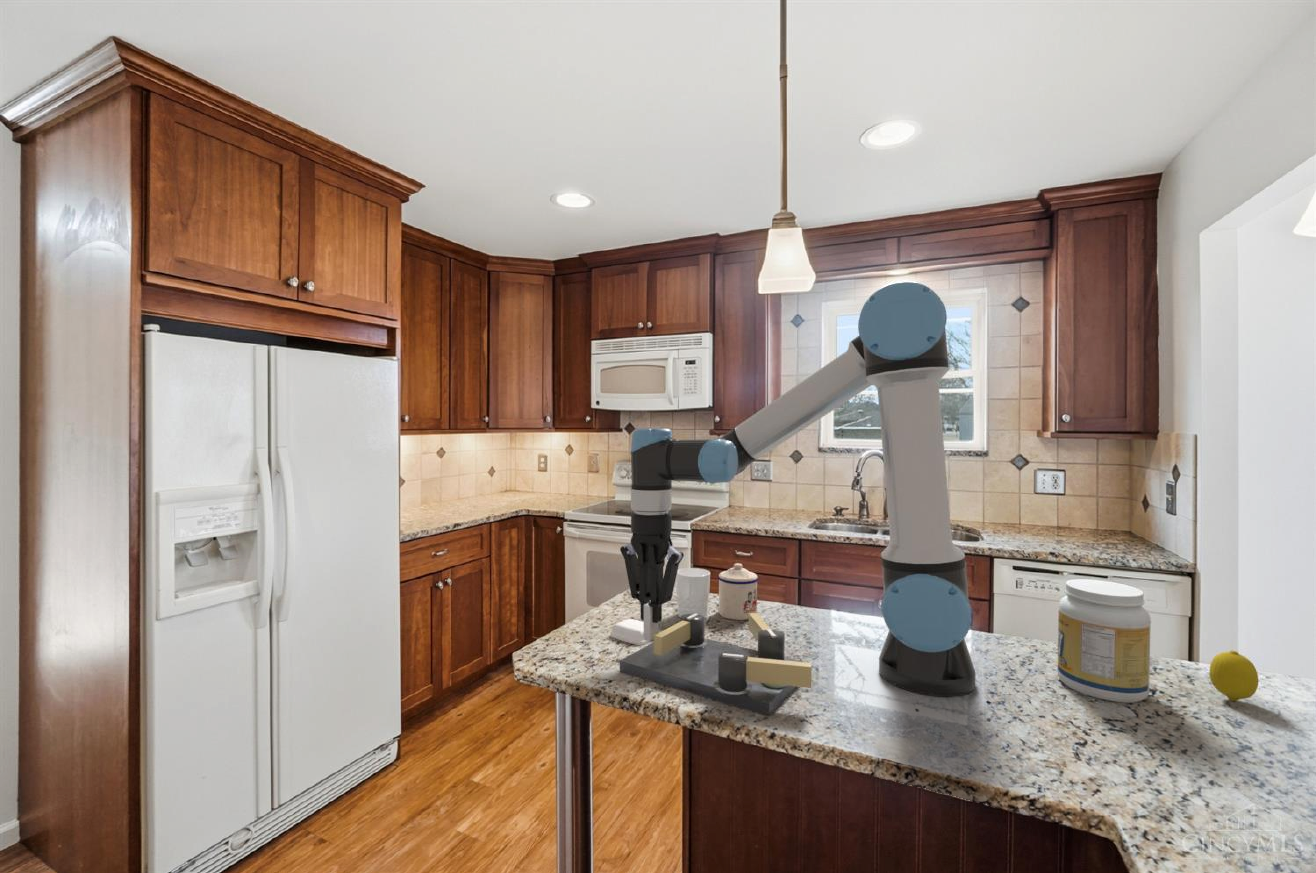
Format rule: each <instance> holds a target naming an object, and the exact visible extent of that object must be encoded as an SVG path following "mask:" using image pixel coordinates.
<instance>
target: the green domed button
mask: <svg viewBox="0 0 1316 873" xmlns="http://www.w3.org/2000/svg"><path fill="white" fill-rule="evenodd" d="M763 684H764V685H765V686H768V687H771V688H783V687H786V686H787V685H778V684H768V683H763Z"/></svg>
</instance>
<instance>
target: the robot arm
mask: <svg viewBox="0 0 1316 873" xmlns="http://www.w3.org/2000/svg"><path fill="white" fill-rule="evenodd" d="M946 310H947V309H946V306H945V303H944V302H943V301H942V300H941V297H940V296H939V295H938V294H937V293H936V292H935V291H934V290H933V289H931V288H930V287H929V286H927V285H925V284H922V283H919V282H917V281H910V280H909V281H908V280H903V281H896V282H891V283H888V284H886V285H884V286H883V287H880V288H879V289H877V290H876V291H874V292H873V293H872V294H871V295H870V296H869V298H868V299H867V300H866V301H865V303H864V304H863V306H862V308H861V310H860V314H859V317H858V322H857V324H858V328H857V329H858V336H856V337H854V338H853V339H852V340H850V341H849V342H848V343H849V344H848V348H847V350H846V351H844V352H843V353H842V354H840V355H839V356H837V357H836V358H834V359H833V360H831V361H830V362H829V363H826V364H825V365H824V366H823V367H822V368H819V370H816V371H815V372H814V373H813V374H811V375H809V376H808V377H807V378H805V379H804V380H803V381H801V382H800V383H798V384H797V385H795V386H794V387H792V388H790V389H789V390H788V391H786V392H785V393H783V394H782V395H781V396H779V397H778V398H776V399H775V400H773V401H772V402H770V403H769V404H767V405H766V406H765V407H763V408H761V409H760V410H757V411H758V412H755V413H754V414H752V415H751V416H750V417H749V418H747V419H746V420H744V421H742V422H741V423H739V424H738V425H736V426H735V427H734V428H732V429H731V430H729V431H728V432H727V433H725V434H723V435H722V436H721V437H719V438H711V439H709V438H707V439H676V438H674V436H673V433H672V430H671V429H669V428H636V429H635V430H633V432H632V434H631V445H630V446H631V448H630V452H629V453H630V460H631V462H630V466H631V474H630V475H631V484H630V486H631V487H630V488H631V489H630V510H632V511H633V512H632V513H631V514H630V531H631V533H632V536H631V538H630V542H629V543H628V544H626V545H623V546H621V547H620V548H619V551H620V553H621V554H622V556H623V559H624V563H625V570H626V575H627V581H628V585H629V590H630V596H631V598H632V599H635V600H637V601H639V603H640V604H639V605H640V619H641V620H640V621H643V622H644V640H646V641H650V642H652V641H654V635H656V634H658V633H659V623H661V621H662V618H663V611H662V610H663V609H662V608H663V605H664V604H666V603H669V602H670V601H671V600H672V598H673V593H674V589H675V586H676V575H677V571H678V570H679V566H680V563H681V562H682V560H683V558H684V557H685V556H684V555H685V554H684V552H683V551H678V550H677V549H675V547H673V541H672V539H671V534H672V526H673V525H672V523H673V519H672V518H673V514H671V512H670V511H671V510H672V493H673V492H672V487H673V486H672V483H673V481H674V482H675V481H676V482H677V481H681V482H682V481H684V482H697V483H698V482H700V483H710V484H718V483H730V482H731V481H733V480H734V478H735V476H737V475H739V474H740V473H742V472H744V471H745V470H746V469H747V467H749V465H752V463H754V462H755V461H756V460H759V459H760V458H761V457H762V456H764V455H766V454H768V453H769V452H771V451H772V450H773V449H775V448H777V447H778V446H780V445H781V444H783V443H785V442H786V441H788V440H789V439H791V438H792V437H794V436H795V435H797V434H799V433H800V432H801V431H803V430H805V429H806V428H808V427H809V426H810V425H813V424H814V423H816V422H817V421H819V420H820V419H822V418H823V417H826V415H828V414H830V413H831V412H832V411H834V410H836V409H837V408H839V407H840V406H842V405H843V404H845V403H846V402H848V401H849V400H851V399H852V398H854V397H856V396H858V395H859V394H861V393H862V392H864V391H865V390H867V389H868V388H870V387H871V386H874V387H875V388H876V389H877V395H878V397H877V400H878V409H879V421H880V433H881V446H882V457H883V460H882V461H883V470H884V481H885V494H886V505H887V516H888V518H887V519H888V531H889V541H890V542H889V543H888V545H887V546H886V547H885V548H884V550H883V551H882V552H880V560H881V571H882V572H881V573H882V585H883V595H882V600H881V602H880V604H881V605H880V607H881V609H880V610H881V613H882V617H883V620H884V623H885V625H886V627H887V628H888V632H887V635H886V638H885V641H884V644H883V645H882V646H883V647H882V649H881V652H880V655H879V656H878V657H879V658H878V673H879V674H880V675H881V677H882V678H884V679H885V680H886V681H887V682H889V683H891V684H893V685H894V686H897V687H898V688H901V689H904V690H907V691H910V692H913V693H918V694H922V695H928V696H937V697H958V696H963V695H968V694H970V693H972V692H973V691H974V690H975V689H976V676H977V674H976V670H975V668H974V664H973V661H972V658H971V654H970V652H969V649H968V645H967V643H966V642H967V641H966V640H965V639H966V637H967V635H968V633H969V631H970V628H971V626H972V623H973V610H972V605H971V604H970V600H969V599H970V598H969V589H968V577H967V561H966V555H965V552H964V550H963V549H962V548H960V547H957V546H956V545H955V544H954V543H953V538H952V534H953V533H952V526H951V514H950V513H951V512H950V502H949V500H950V498H949V490H948V489H949V488H948V477H947V465H946V464H947V463H946V455H945V444H944V443H945V442H944V433H943V420H942V419H943V418H942V408H941V395H940V384H939V383H940V381H941V380H942V379H943V378H944V376H945V375H946V374H947V373H948V371H949V370H950V369H949V356H948V343H947V331H946V325H947V319H948V318H947V311H946ZM666 559H667V563H666V561H665V560H666ZM665 564H666V565H665ZM664 567H665V570H664Z"/></svg>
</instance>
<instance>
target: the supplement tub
mask: <svg viewBox="0 0 1316 873" xmlns="http://www.w3.org/2000/svg"><path fill="white" fill-rule="evenodd" d="M1064 593H1065V594H1066V595H1065V596H1063V597H1061V598H1060V600H1059V603H1058V607H1057V608H1058V620H1057V622H1058V623H1057V624H1058V626H1057V627H1058V629H1057V630H1058V631H1057V633H1058V634H1057V635H1058V637H1057V638H1058V639H1057V669H1056V670H1057V675H1058V678H1059V679H1060V681H1061V682H1062V683H1063V684H1064V685H1066V687H1068V688H1070V689H1072V690H1073V691H1075V692H1078V693H1081V694H1083V695H1086V696H1089V697H1093V698H1097V699H1099V700H1100V699H1101V700H1106V701H1111V702H1114V703H1115V702H1116V703H1137V702H1140V701H1144V700H1145V699H1146V698H1148V696H1149V694H1150V690H1151V689H1150V670H1151V668H1150V664H1151V624H1152V618H1151V616H1150V614H1149V612H1148V610H1146V608H1145V607H1143V606H1144V605H1145V600H1144V591H1142V590H1141V589H1139V588H1137V587H1134V586H1130V585H1127V584H1123V583H1120V582H1119V583H1118V582H1114V581H1107V580H1101V579H1090V578H1088V579H1087V578H1080V579H1079V578H1078V579H1077V578H1075V579H1069V580H1067V581H1066V582H1065V589H1064Z"/></svg>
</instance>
